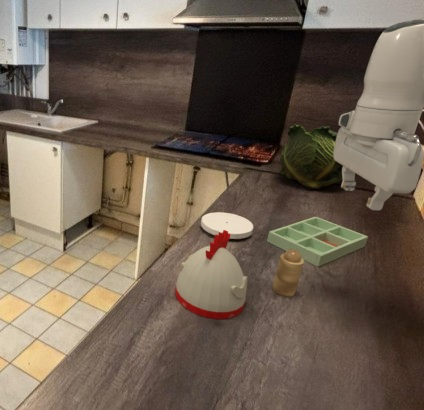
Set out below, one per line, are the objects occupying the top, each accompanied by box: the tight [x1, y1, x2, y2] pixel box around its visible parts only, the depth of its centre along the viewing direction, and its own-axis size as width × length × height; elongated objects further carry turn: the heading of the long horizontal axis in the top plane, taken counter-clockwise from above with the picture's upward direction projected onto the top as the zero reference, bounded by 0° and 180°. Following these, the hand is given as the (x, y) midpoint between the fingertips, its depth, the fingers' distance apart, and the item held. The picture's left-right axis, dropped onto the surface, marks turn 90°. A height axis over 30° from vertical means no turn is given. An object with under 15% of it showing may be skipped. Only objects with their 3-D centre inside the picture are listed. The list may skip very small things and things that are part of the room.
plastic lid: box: [200, 211, 254, 240], centre depth 103 cm, size 14×14×2 cm
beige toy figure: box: [272, 249, 305, 297], centre depth 76 cm, size 4×4×10 cm
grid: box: [266, 216, 369, 268], centre depth 95 cm, size 14×21×3 cm
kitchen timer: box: [174, 230, 248, 320], centre depth 73 cm, size 14×14×15 cm
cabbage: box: [278, 124, 343, 191], centre depth 135 cm, size 25×24×23 cm
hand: (359, 198), depth 67 cm, fingers open, 8 cm apart
